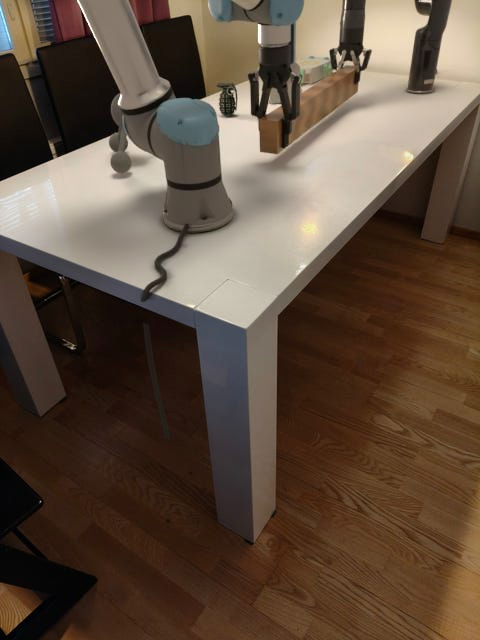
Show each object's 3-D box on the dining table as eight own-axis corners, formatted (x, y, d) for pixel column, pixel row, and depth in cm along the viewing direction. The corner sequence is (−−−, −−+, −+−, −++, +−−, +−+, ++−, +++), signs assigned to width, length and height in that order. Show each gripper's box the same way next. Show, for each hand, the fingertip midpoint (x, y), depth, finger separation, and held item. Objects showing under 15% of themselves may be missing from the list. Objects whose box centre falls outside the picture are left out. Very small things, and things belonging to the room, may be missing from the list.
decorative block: (301, 54, 217) (342, 57, 208) (301, 70, 221) (341, 73, 212) (270, 65, 201) (313, 69, 192) (270, 82, 205) (312, 86, 196)
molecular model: (195, 164, 133) (181, 39, 115) (114, 179, 127) (87, 50, 109) (172, 140, 150) (157, 28, 132) (101, 152, 145) (75, 37, 126)
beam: (277, 154, 124) (277, 121, 119) (259, 152, 126) (259, 119, 121) (357, 92, 168) (360, 66, 164) (343, 91, 170) (345, 65, 166)
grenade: (217, 117, 168) (214, 86, 162) (221, 112, 172) (219, 82, 166) (235, 117, 166) (233, 86, 160) (239, 113, 171) (238, 82, 165)
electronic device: (270, 104, 178) (269, 7, 160) (263, 99, 184) (262, 5, 165) (301, 100, 180) (304, 4, 162) (294, 95, 186) (296, 2, 168)
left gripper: (317, 42, 112) (313, 144, 126) (247, 40, 119) (251, 137, 133) (304, 48, 106) (301, 154, 121) (232, 46, 114) (238, 146, 128)
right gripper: (378, 23, 154) (371, 82, 164) (334, 23, 160) (331, 79, 170) (371, 27, 149) (365, 87, 159) (326, 26, 155) (323, 84, 165)
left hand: (275, 145), depth 127 cm, fingers closed on beam, 5 cm apart
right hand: (347, 83), depth 165 cm, fingers closed on beam, 5 cm apart
